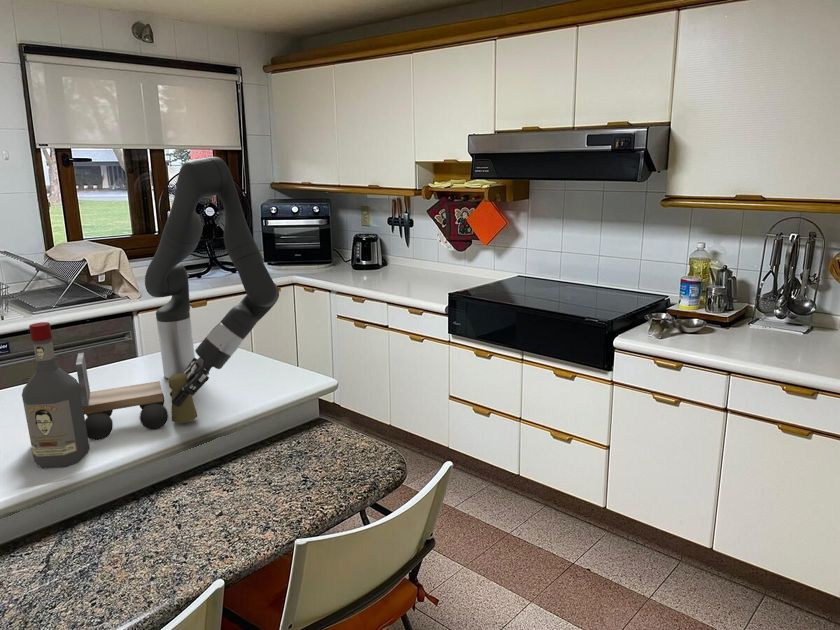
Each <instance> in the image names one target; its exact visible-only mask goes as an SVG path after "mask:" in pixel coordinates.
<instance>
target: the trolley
mask: <svg viewBox="0 0 840 630" xmlns="http://www.w3.org/2000/svg"><path fill="white" fill-rule="evenodd" d="M75 367H76V368H75V369H76V375H77V379H78V380H77V382H78V383H79V387H80V393H81V399H82V405H83V411H84V416H85V415H86V418H85V423H86V429H87V435H88V440H91V441H101V440H104V439H106V438H108V437H109V436H110V435H111V434H112V432H113V428H114V427H113V425H114V424H113V420H112V418H111V416H112V414H113V412H114V411H115V410H120V409H126V408H132V407H138V406H139V407H140V409H141V410H140V414H139V415H140V416H139V418H140V423H141V425H142V426H143V427H144V428H145V429H147V430H150V431H155V430H160V429H161V428H163V427H164V426H165V425H166V424H167V422H168V420H169V415H168V410H167V408H166V407H165V406H164V404H165V396H164V393H163V390H162V385H161V381H160V380H158V381H152V382H145V383H139V384H133V385H126V386H119V387H115V388H106V389H101V390H94V391H91V389H90V383H89V377H88V371H87V364H86V358H85V353H84V352H78V353H77V357H76V363H75ZM113 410H114V411H113Z"/></svg>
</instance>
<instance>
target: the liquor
mask: <svg viewBox="0 0 840 630" xmlns="http://www.w3.org/2000/svg"><path fill="white" fill-rule="evenodd" d="M28 327H29V333H30V338H31V341H32V345H33V349H34V350H33V351H34V357H35V363H36V365H35V372H34V373H33V375H32V376H31V378H30V379H29V380H28V382H27V383H26V385H25V386H24V387H23V389H22V392H21V398H22V403H23V409H24V414H25V419H26V423H27V424H26V425H27V429H28V435H29V440H30V446H31V451H32V456H33V462H34V463H35V464H36V465H37V466H39V468H41V469H56V468H57V469H58V468H59V469H60V468H67V467H70V466H73V465H76V464H78V463H80V462H81V460H83V459H84V458H85V456H87V454H89V452H90V448H91V447H90V444H89V442H90V441H89V438H88V435H87V429H86V423H85V419H86V418H85V415H84V411H83V405H82V399H81V393H80V387H79V381H78V380H77V378H75V377H74V376H72V375H71V374H69V373H68V372H66V371H65V370H63V369H62V368H61V367H59V364H58V362H57V360H56V356H55V349H54V344H53V340H52V338H53V334H52V328H51V323H50V322H48V321H47V322H44V321H42V322H36V323H35V322H34V323H31V324H30V325H29V326H28Z"/></svg>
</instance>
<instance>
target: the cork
mask: <svg viewBox="0 0 840 630" xmlns="http://www.w3.org/2000/svg"><path fill="white" fill-rule="evenodd" d="M187 376H188V374H185V373H180V374H175V375H173V376H171V377H170V378H168V380H167V381H168V383H167V384H168V386H169V388H170V389H171V391H172V397H171V400H172V399H173V398H174V397H175V396H176V395H177V393H178V392H179V391H180V390H181V389H182V387H183V386H184V384H185V383H186V380H185V379H186V378H187ZM198 416H199V415H198V412H197V408H196V405H195V400H194V398H193V396H192V395H189V396H188V397H187V398H186V399H185V401H184V402H183V403H182V404H181V405H180V406H179V407H177V406H175V405H173V404H172V403H171V421H172V422H173V423H175V424H182V423H188V422H192V421H195V420H196V419H197V418H198Z"/></svg>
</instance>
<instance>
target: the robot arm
mask: <svg viewBox="0 0 840 630" xmlns="http://www.w3.org/2000/svg"><path fill="white" fill-rule="evenodd" d="M215 196H218V198H219V199H220V202H221V204H222V206H223V209H224V210H223V212H224V226H223V242H224V246H225V249H226V252H227V254H228V256H229V258H230V260H231V262H232V264H233V266H234V268H235V269H236V271H237V273H238V275H239V278H240V282H241V283H242V286H243V289H244V290H245V293H246V295H245V296H244V297H243V298H242V299H241V301H240V302H239V303H237V304H236V305H234V306H233V307H232V308H230V309H229V311H228V312H227V313H226V314H225V316H224V317H223V318H222V319H221V320H220V322H219V323H218V324H216V325H215V326H214V327H213V328H212V329H211V331H210V332H209V333H208V334H207V335H206V337H205V338H204V339H203V340H202V341H201V342H200V343H199V345H198V346H197V347H196V348H195V347H194V337H193V331H192V322H191V321H192V320H191V313H190V312H191V303H190V302H191V301H190V286H189V285H190V284H189V277H188V276H189V275H188V273H187V269H186V268H185V266H184V265H183V264H182V263H183V261H184V260H186V259H187V258H188V257H189V256H190V255H191V254H193V253H194V251H195V250H196V249H197V247H198V245H199V242H200V240H201V238H202V234H203V223H202V219H200V216H199V215H198V213H197V211H196V208H197V206H198V204H199V202H200V201H201V200H202V199H204V198H211V197H215ZM181 262H182V263H181ZM144 286H145V290H146V292H147V293H148V294H149V296H151V297H152V298H166V297H171V299H170V300H169V301H167V303H165V304H164V305H163V306H161V307H159V308H158V309H157V310H156V311H155V316H156V318H155V319H156V325H157V332H158V334H157V335H158V341H159V347H160V355H161V364H162V370H163V377H164V378H166V379H169V378H170V377H171V376H173V375H175V374H180V373H185V374H188V376H187V378H186V379H185V380H186V383H185V384H184V386H183V387H182V389H181V390H180V391H179V392H178V393H177V395H176V396H175V397H174V398H173V399H172V390H171V391H170V392H169V396H170V397H171V401H170V402H171V405H172V404H173V405H175V406H177V407H179V406H180V405H181V404H182V403H183V402H184V401H185V399H186V398H187V397H188V396H189V395H192V397H193V396H194V395H196V393H197V392H198V391H199V390H200V389H201V388H202V387H203V386H204V385H205V384H206V382H208V381H209V379H210V377H209V375H210V371H211V369H212V368H214V369H217V370H221V369H222V368H223V367H224V366H225V365H226V363H227V362H228V361H229V360H230V358H231V357H232V356H233V355H234V353H235V352H236V351H237V350H238V348H240V346H241V344H242V342H243V341H244V340H245V339H246V337H247V336H248V335H249V333H250V332H251V331H252V330H253V329H254V327H255V326H256V325H257V324H258V322H259V321H260V320H261V319H262V318H263V317H264V316H266V314H268V313H269V311H270V310H271V309H272V308H273V307H274V306H275V305H276V303H277V302H278V300H279V298H280V290H279V288H278V286H277V284H276V283H275V282H274V280H273V278H272V277H271V275H270V272H269V271H268V269H267V268H266V266H265V263H264V258H263V256H262V253H261V251H260V249H259V247H258V245H257V244H256V242H255V239H254V237H253V235H252V233H251V231H250V228H249V226H248V223H247V220H246V217H245V213H244V209H243V207H242V203H241V201H240V197H239V194H238V191H237V187H236V184H235V181H234V179H233V175H232V173H231V171H230V168H229V167H228V165H227V163H226V162H225V161H224V159H222V158H221V157H218V156H208V157H203V158H202V157H201V158H196V159H191V160H188V161H187V160H186V161H185V162H184V163H183V164H182V165H181V166H180V169H179V173H178V175H177V180H176V186H175V191H174V196H173V201H172V204H171V209H170V211H169V214H168V218H167V220H166V222H165V225H164V227H163V231H162V233H161V238H160V241H159V244H158V245H157V249H156V252H155V254H154V255H153V257H152V259H151V262H150V263H149V265H148V267H147V269H146V272H145V275H144ZM195 354H196V355H197V356H198V358H196V355H195ZM191 386H192V387H191Z"/></svg>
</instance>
